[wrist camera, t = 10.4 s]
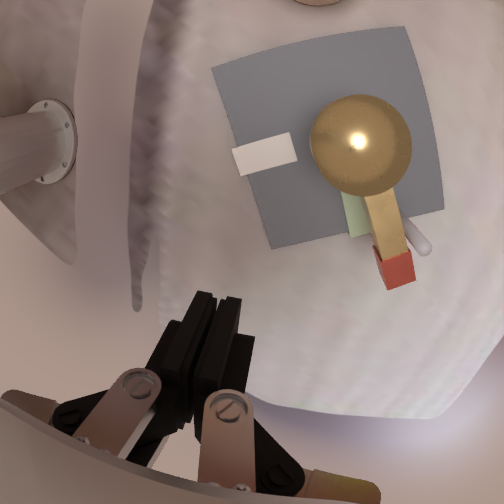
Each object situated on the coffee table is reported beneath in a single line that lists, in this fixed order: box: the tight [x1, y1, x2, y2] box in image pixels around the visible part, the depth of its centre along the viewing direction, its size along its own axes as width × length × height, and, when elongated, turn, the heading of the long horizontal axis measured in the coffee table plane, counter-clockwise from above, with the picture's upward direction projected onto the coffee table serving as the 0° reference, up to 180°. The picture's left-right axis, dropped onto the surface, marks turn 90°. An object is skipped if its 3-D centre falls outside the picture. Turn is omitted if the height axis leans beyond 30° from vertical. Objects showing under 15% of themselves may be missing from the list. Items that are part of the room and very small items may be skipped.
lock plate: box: [211, 26, 444, 257], centre depth 25 cm, size 23×23×12 cm
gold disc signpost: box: [309, 94, 416, 291], centre depth 23 cm, size 16×8×4 cm, turn 24°
